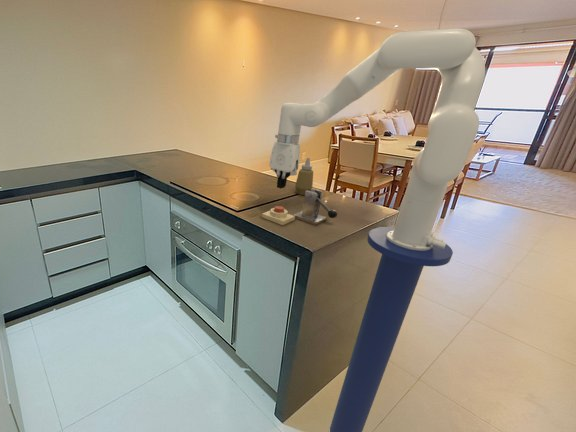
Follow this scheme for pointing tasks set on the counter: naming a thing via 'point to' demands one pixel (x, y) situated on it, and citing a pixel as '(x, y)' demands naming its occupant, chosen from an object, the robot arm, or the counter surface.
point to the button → (279, 209)
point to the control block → (278, 217)
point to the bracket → (311, 208)
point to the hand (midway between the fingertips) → (280, 187)
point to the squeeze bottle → (304, 178)
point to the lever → (330, 212)
